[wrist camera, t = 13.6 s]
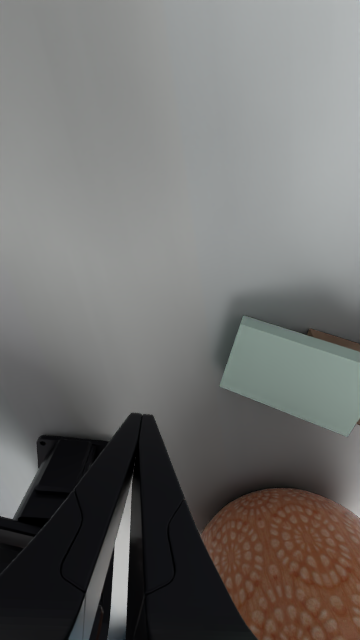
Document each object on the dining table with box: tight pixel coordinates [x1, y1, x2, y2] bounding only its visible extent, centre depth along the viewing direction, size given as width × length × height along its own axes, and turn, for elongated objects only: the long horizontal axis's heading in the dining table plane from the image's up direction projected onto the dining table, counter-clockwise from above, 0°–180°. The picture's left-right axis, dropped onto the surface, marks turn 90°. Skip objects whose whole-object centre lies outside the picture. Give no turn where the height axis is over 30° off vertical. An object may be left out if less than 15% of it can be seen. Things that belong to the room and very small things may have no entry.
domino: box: [219, 315, 360, 437], centre depth 16 cm, size 2×5×8 cm
